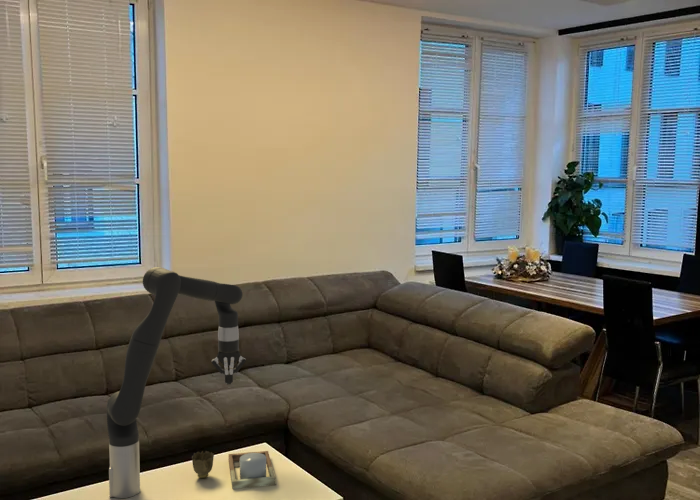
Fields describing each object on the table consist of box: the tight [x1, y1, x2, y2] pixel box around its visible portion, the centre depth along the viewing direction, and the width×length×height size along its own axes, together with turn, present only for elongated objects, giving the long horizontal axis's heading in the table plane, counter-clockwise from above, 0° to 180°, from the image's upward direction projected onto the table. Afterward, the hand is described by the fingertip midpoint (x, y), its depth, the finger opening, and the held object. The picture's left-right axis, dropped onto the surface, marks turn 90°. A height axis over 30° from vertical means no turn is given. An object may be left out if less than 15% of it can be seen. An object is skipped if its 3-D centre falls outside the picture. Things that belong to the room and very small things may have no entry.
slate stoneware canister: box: [239, 452, 267, 479], centre depth 231 cm, size 9×9×8 cm
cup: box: [191, 450, 215, 480], centre depth 232 cm, size 8×7×8 cm
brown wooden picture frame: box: [228, 450, 277, 490], centre depth 237 cm, size 14×23×2 cm, turn 13°
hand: (228, 383), depth 249 cm, fingers closed
